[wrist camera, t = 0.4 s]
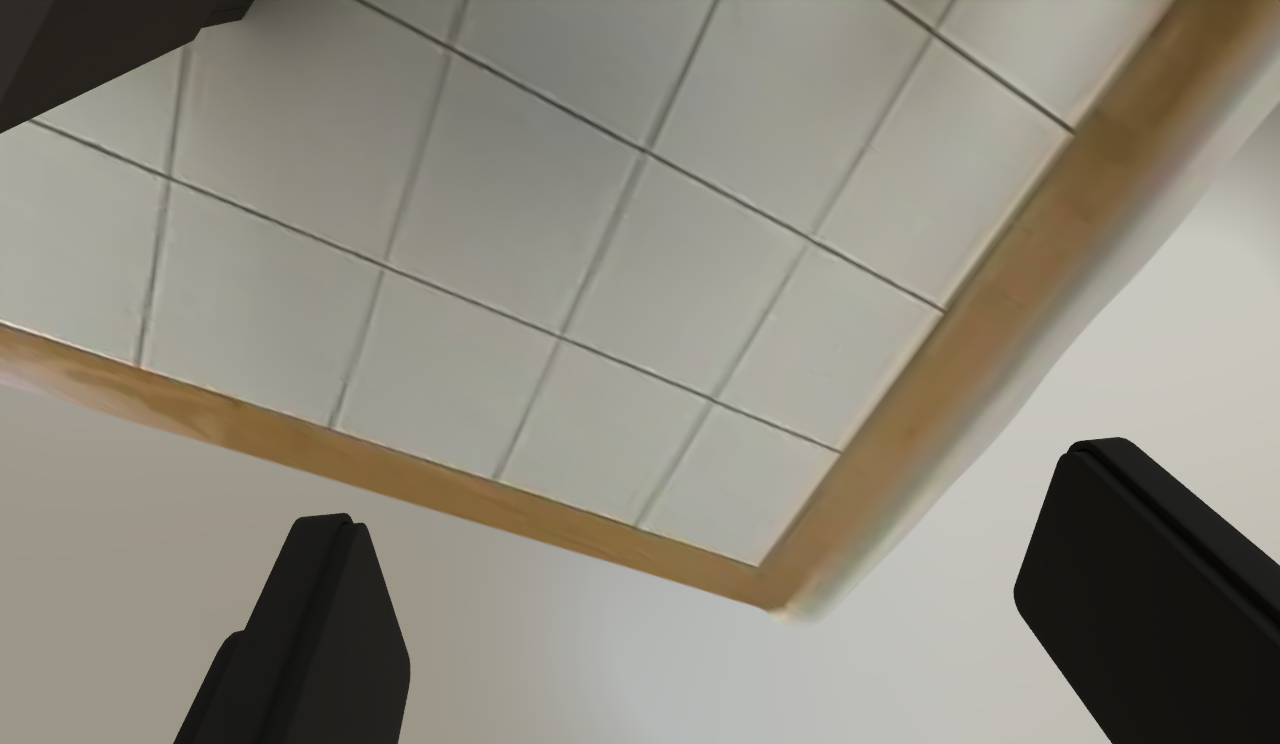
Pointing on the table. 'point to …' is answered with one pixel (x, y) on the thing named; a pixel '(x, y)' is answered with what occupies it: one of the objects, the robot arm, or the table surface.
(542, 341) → the table surface
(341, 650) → the robot arm
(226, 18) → the black box base
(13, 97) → the box cover
